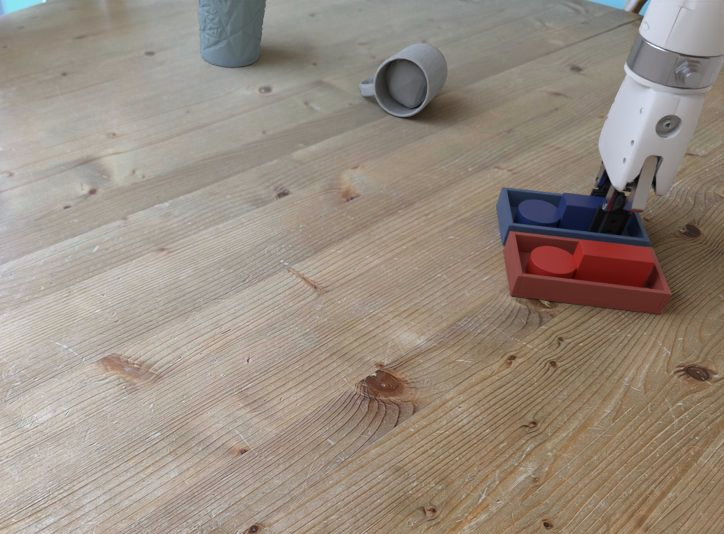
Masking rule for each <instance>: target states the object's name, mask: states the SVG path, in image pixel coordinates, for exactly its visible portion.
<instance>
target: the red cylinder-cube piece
mask: <svg viewBox="0 0 724 534" xmlns="http://www.w3.org/2000/svg"><path fill="white" fill-rule="evenodd" d="M654 263H655V262H654V260H653V257H652V255H651V252H650V250H649V248H647V247H638V246H630V245H621V244H613V243H604V242H595V241H587V240H579V242H578V245H577V247H576V250H575V252H574V254H573V256H572V255H571V254H570V253H569V252H567V251H565V250H563V249H560V248H557V247H553V246H541V247H537V248H535V249H534V250H533V251H532V252H531V254H530V257H529V260H528V262H527V265H526V273H527V274H532V275H541V276H549V277H557V278H566V279H574V280H582V281H590V282H599V283H607V284H615V285H624V286H632V287H640V288H642V286H643V284H644V282H645V280H646V278H647V276H648V274H649V273H650V271H651V269H652V267H653V265H654Z"/></svg>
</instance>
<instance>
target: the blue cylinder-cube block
mask: <svg viewBox="0 0 724 534" xmlns="http://www.w3.org/2000/svg"><path fill="white" fill-rule="evenodd" d="M562 194H563V195H562V198H561V200H560V203H559V205H558V208H557V207H555V206H554V205H552V204H550V203H548V202H545V201H542V200H535V199H531V200H525V201H523V202H521V203H520V204H519V206H518V209H517V212H516V215H515V218H514V223H517V224H525V225H534V226H542V227H551V228H560V229H568V230H577V231H585V232H587V231H588V228H589V226H590V224H591V222H592V219H593V217H594V215H595V212H596V210H597V208H598V205H600V206H603V203H604V201H605V198H606V197H598V196H590V194H589V195H588V194H580V193H573V192H572V193H571V192H563V193H562ZM630 216H631V215H630ZM629 218H630V217H629ZM628 220H629V219H628ZM624 229H625V228H624ZM623 231H624V230H623ZM622 233H623V232H622ZM621 235H622V234H621Z"/></svg>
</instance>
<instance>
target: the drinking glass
mask: <svg viewBox="0 0 724 534" xmlns="http://www.w3.org/2000/svg"><path fill="white" fill-rule="evenodd" d="M266 2H267V0H197V8H198V10H197V16H198V25H199V26H198V27H199V28H198V30H199V34H198V35H199V51H200V57H201V59H203V60H204V61H205V62H207V63H208V64H211V65H214V66H217V67H224V68H241V67H246V66H250V65H253V64H254V63H256V62H257V61H258V59H259V57H260V55H261V43H262V39H263V29H264V28H263V25H264V18H265V12H266V10H265V9H266V7H267V3H266Z"/></svg>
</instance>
